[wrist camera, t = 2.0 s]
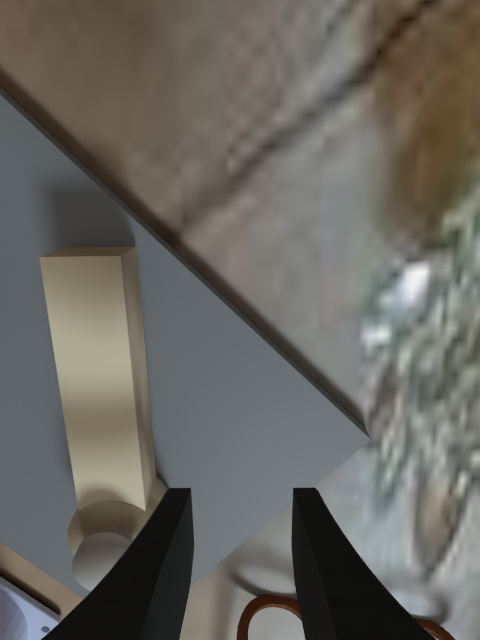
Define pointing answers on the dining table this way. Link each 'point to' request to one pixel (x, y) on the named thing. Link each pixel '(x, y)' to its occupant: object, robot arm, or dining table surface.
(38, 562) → the charcoal board
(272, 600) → the glasses
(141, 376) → the wooden link
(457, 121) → the dining table surface
